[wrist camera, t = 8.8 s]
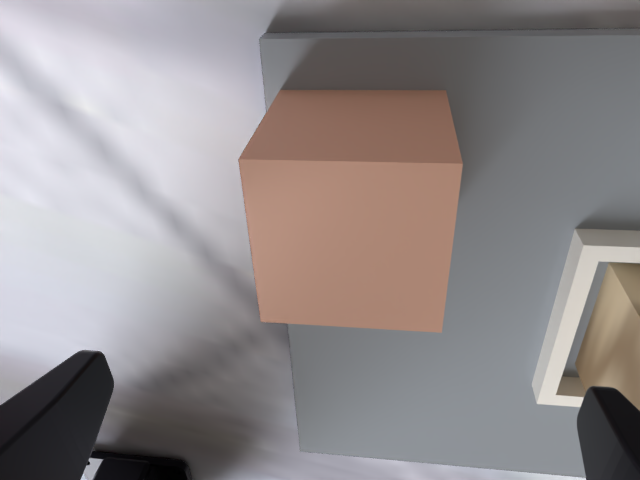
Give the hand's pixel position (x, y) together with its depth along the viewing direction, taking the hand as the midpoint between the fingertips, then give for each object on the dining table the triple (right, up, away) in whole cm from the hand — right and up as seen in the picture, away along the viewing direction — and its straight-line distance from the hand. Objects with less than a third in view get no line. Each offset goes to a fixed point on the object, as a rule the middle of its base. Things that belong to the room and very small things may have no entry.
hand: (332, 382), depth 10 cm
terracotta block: (+1, +5, +7) cm, 9 cm away
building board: (+8, 0, +10) cm, 13 cm away
